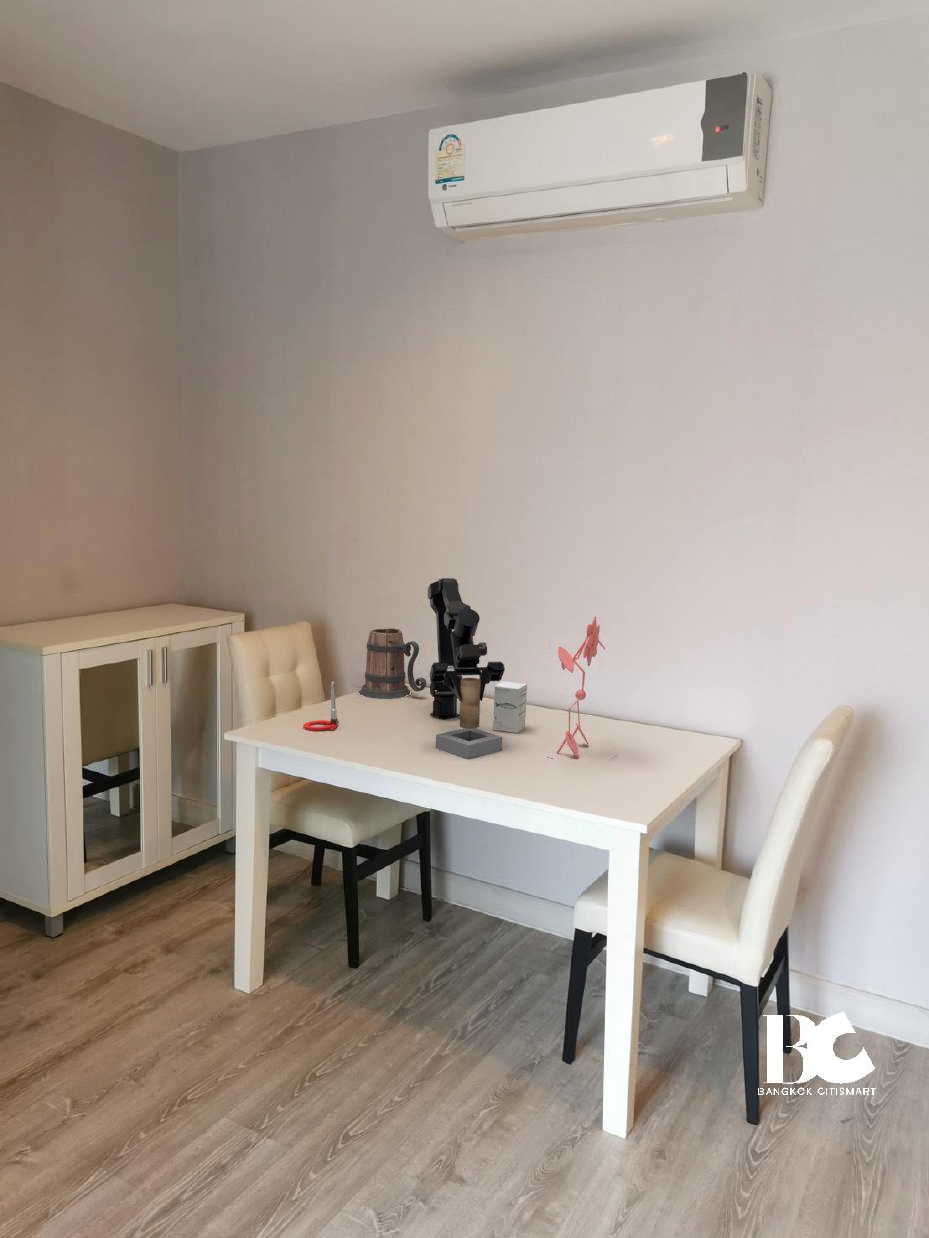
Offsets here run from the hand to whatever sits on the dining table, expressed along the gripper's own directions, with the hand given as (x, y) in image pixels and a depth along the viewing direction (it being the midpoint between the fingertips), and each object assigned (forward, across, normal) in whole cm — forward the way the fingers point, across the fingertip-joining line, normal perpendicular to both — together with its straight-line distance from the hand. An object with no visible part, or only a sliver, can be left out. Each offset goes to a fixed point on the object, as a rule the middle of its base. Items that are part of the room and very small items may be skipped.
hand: (471, 700), depth 235 cm
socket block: (+8, 0, +10) cm, 13 cm away
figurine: (+13, +30, +6) cm, 33 cm away
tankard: (-34, -11, +54) cm, 65 cm away
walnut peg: (+4, 0, +6) cm, 7 cm away
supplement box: (-4, +15, +23) cm, 28 cm away
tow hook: (-9, -36, +28) cm, 47 cm away
